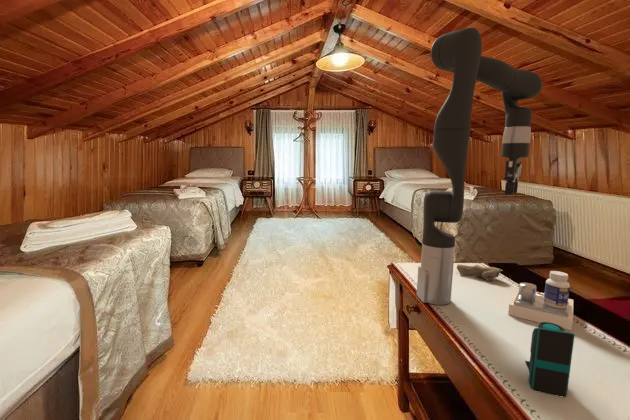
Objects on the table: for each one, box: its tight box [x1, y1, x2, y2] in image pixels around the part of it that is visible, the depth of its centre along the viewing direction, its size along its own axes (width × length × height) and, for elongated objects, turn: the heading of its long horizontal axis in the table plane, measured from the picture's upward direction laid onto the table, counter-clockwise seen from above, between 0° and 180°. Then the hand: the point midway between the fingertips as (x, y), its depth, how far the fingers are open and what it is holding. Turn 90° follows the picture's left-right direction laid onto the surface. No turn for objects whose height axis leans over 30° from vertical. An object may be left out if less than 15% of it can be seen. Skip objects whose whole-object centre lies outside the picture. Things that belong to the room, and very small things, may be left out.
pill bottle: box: [543, 270, 571, 308], centre depth 89 cm, size 5×5×9 cm
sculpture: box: [456, 263, 502, 281], centre depth 124 cm, size 7×5×15 cm
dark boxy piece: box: [524, 322, 576, 398], centre depth 64 cm, size 6×12×10 cm
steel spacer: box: [518, 282, 537, 301], centre depth 94 cm, size 4×4×4 cm
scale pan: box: [514, 292, 569, 317], centre depth 92 cm, size 10×12×1 cm
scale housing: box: [507, 287, 574, 331], centre depth 94 cm, size 16×14×4 cm
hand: (511, 193), depth 107 cm, fingers open, 8 cm apart
